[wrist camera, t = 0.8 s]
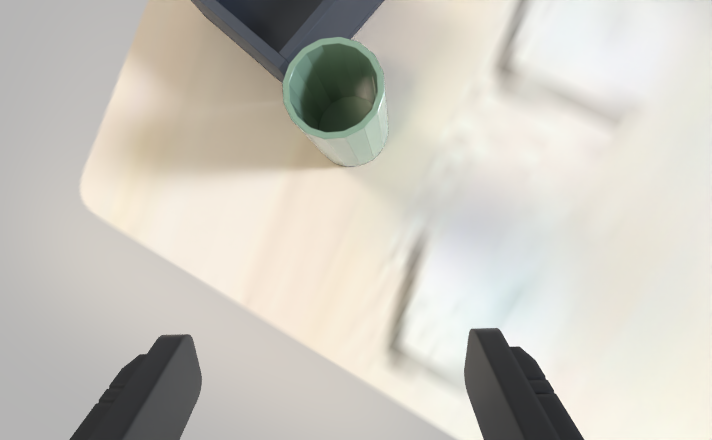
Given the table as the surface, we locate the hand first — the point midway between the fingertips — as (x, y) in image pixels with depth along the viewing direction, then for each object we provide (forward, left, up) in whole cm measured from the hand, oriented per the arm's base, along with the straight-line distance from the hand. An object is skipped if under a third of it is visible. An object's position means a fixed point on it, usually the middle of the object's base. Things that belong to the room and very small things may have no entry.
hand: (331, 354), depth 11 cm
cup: (-8, -9, -19) cm, 23 cm away
